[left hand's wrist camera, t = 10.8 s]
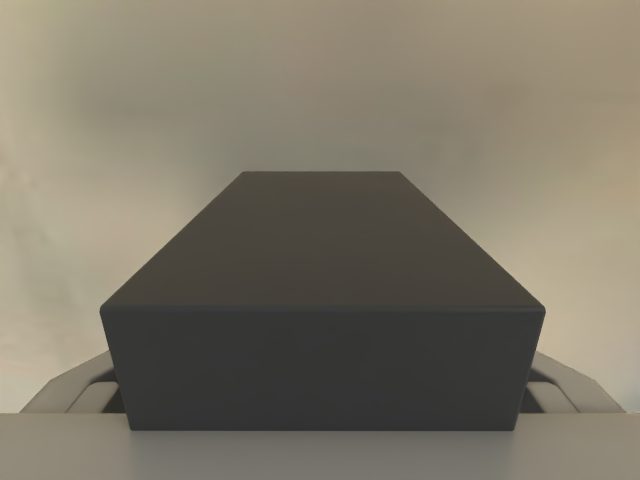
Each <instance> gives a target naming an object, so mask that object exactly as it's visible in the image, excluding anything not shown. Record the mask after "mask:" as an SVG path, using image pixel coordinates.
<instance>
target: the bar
mask: <svg viewBox="0 0 640 480" xmlns="http://www.w3.org/2000/svg"><path fill="white" fill-rule="evenodd" d="M545 313H546V311H545V307H544V306H543V305H542V304H541V303H540V302H539V301H538V300H537V299H536V298H535V297H533V296H532V295H531V294H530V293H529V292H528V291H527V290H526V289H525V288H524V287H523V286H522V285H521V284H520V283H518V282H517V281H516V280H515V279H514V278H513V277H512V276H511V275H510V274H509V273H508V272H507V271H506V270H504V269H503V268H502V267H501V266H500V265H499V264H498V263H497V262H496V261H495V260H494V259H493V258H492V257H491V256H489V255H488V254H487V253H486V252H485V251H484V250H483V249H482V248H481V247H480V246H479V245H478V244H477V243H475V242H474V241H473V240H472V239H471V238H470V237H469V236H468V235H467V234H466V233H465V232H464V231H463V230H462V229H460V228H459V227H458V226H457V225H456V224H455V223H454V222H453V221H452V220H451V219H450V218H449V217H448V216H446V215H445V214H444V213H443V212H442V211H441V210H440V209H439V208H438V207H437V206H436V205H435V204H434V203H433V202H431V201H430V200H429V199H428V198H427V197H426V196H425V195H424V194H423V193H422V192H421V191H420V190H419V189H417V188H416V187H415V186H414V185H413V184H412V183H411V182H410V181H409V180H408V179H407V178H406V177H405V176H404V175H402V174H401V173H400V172H242V173H241V174H240V175H239V176H238V177H237V178H236V179H235V180H234V181H233V182H232V183H231V184H230V185H228V186H227V187H226V188H225V189H224V190H223V191H222V192H221V193H220V194H219V195H218V196H217V197H216V198H215V199H214V200H213V201H212V202H210V203H209V204H208V205H207V206H206V207H205V208H204V209H203V210H202V211H201V212H200V213H199V214H198V215H197V216H196V217H195V218H194V219H193V220H191V221H190V222H189V223H188V224H187V225H186V226H185V227H184V228H183V229H182V230H181V231H180V232H179V233H178V234H177V235H176V236H175V237H173V238H172V239H171V240H170V241H169V242H168V243H167V244H166V245H165V246H164V247H163V248H162V249H161V250H160V251H159V252H158V253H157V254H156V255H154V256H153V257H152V258H151V259H150V260H149V261H148V262H147V263H146V264H145V265H144V266H143V267H142V268H141V269H140V270H139V271H138V272H137V273H135V274H134V275H133V276H132V277H131V278H130V279H129V280H128V281H127V282H126V283H125V284H124V285H123V286H122V287H121V288H120V289H119V290H117V291H116V292H115V293H114V294H113V295H112V296H111V297H110V298H109V299H108V300H107V301H106V302H105V303H104V304H103V305H102V306H101V308H100V316H101V319H102V323H103V327H104V331H105V335H106V339H107V342H108V346H109V350H110V354H111V358H112V362H113V366H114V369H115V373H116V377H117V381H118V385H119V389H120V392H121V396H122V400H123V404H124V408H125V412H126V416H127V419H128V423H129V427H130V430H132V431H513V430H514V429H515V426H516V422H517V418H518V414H519V411H520V407H521V403H522V399H523V396H524V392H525V388H526V384H527V381H528V377H529V373H530V369H531V366H532V362H533V358H534V354H535V351H536V347H537V343H538V339H539V336H540V332H541V328H542V324H543V321H544V317H545Z"/></svg>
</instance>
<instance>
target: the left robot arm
mask: <svg viewBox="0 0 640 480" xmlns="http://www.w3.org/2000/svg"><path fill="white" fill-rule="evenodd" d="M0 480H640V413H626V412H625V411H624V410H623V409H622V408H621V407H620V406H619V404H618V403H617V402H616V401H615V400H614V399H613V398H612V397H611V396H610V395H609V394H608V393H607V392H606V391H605V390H604V389H603V388H602V387H601V386H600V385H599V384H598V383H597V382H596V381H595V380H593V379H591V378H589V377H587V376H585V375H583V374H581V373H579V372H577V371H575V370H573V369H571V368H569V367H567V366H565V365H563V364H561V363H559V362H557V361H555V360H553V359H552V358H550V357H548V356H546V355H544V354H542V353H540V352H538V351H535V354H534V358H533V362H532V366H531V369H530V373H529V377H528V381H527V384H526V388H525V392H524V396H523V399H522V403H521V407H520V411H519V414H518V418H517V422H516V426H515V429H514V430H513V431H132V430H130V427H129V423H128V419H127V416H126V412H125V408H124V404H123V400H122V396H121V392H120V389H119V385H118V381H117V377H116V373H115V369H114V366H113V362H112V358H111V354H110V350H108V351H106V352H105V353H103V354H101V355H99V356H97V357H95V358H93V359H91V360H89V361H87V362H85V363H83V364H81V365H79V366H77V367H75V368H73V369H71V370H69V371H67V372H65V373H63V374H61V375H59V376H58V377H56V378H54V379H52V380H50V381H49V382H48V383H47V384H46V385H45V386H44V387H43V388H42V389H41V390H40V391H39V392H38V393H37V394H36V395H35V397H34V398H33V399H32V400H31V401H30V402H29V403H28V404H27V405H26V406H25V407H24V408H23V409H22V410H21V411H20V412H19V413H0Z"/></svg>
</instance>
